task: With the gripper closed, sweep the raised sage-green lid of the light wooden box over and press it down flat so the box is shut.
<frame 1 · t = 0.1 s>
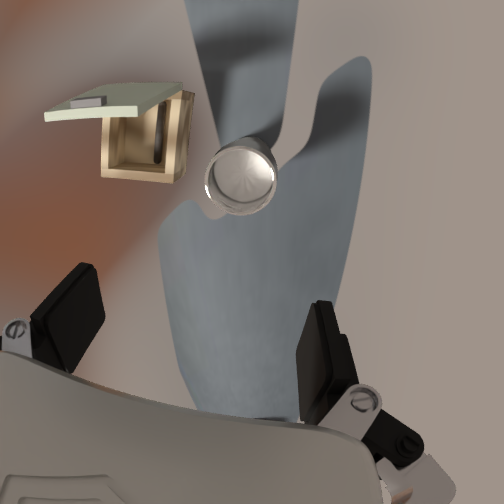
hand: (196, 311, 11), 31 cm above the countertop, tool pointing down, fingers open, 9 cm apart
beer glass: (250, 157, 38), on the countertop
box lid: (116, 93, 24), point 12 cm above the countertop, hinge at 75.0°
light wooden box: (154, 131, 37), on the countertop
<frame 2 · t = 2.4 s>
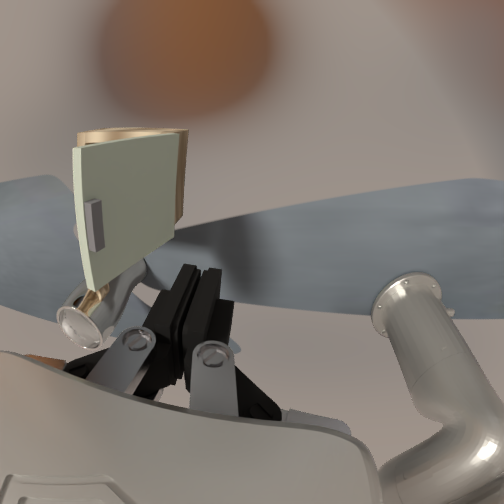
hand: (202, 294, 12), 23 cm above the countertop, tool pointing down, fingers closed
beer glass: (129, 264, 40), on the countertop
box lid: (136, 203, 22), point 12 cm above the countertop, hinge at 75.0°
light wooden box: (141, 170, 33), on the countertop
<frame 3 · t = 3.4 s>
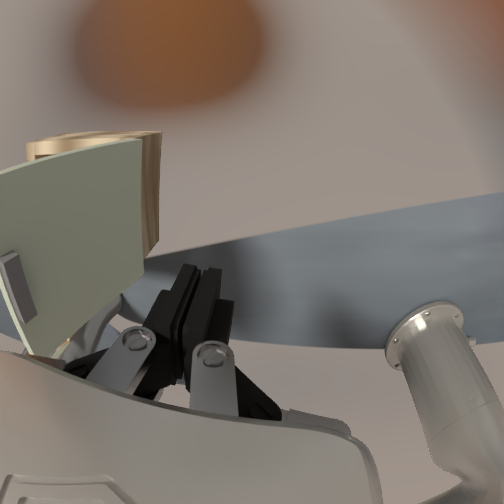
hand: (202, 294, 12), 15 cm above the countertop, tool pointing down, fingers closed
beer glass: (103, 294, 33), on the countertop
box lid: (81, 242, 15), point 12 cm above the countertop, hinge at 75.0°
light wooden box: (107, 184, 26), on the countertop
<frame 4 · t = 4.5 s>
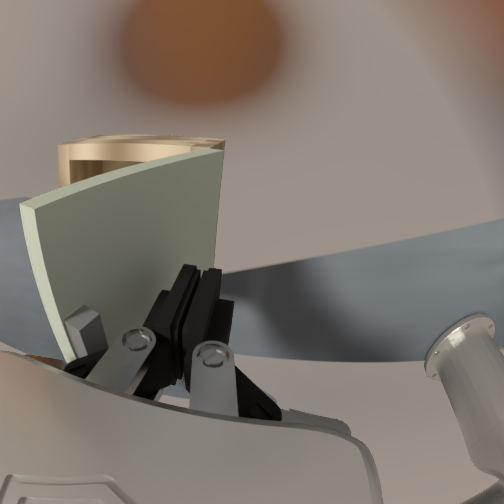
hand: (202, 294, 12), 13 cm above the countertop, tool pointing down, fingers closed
box lid: (161, 279, 13), point 12 cm above the countertop, hinge at 74.9°, touching gripper
light wooden box: (153, 196, 24), on the countertop
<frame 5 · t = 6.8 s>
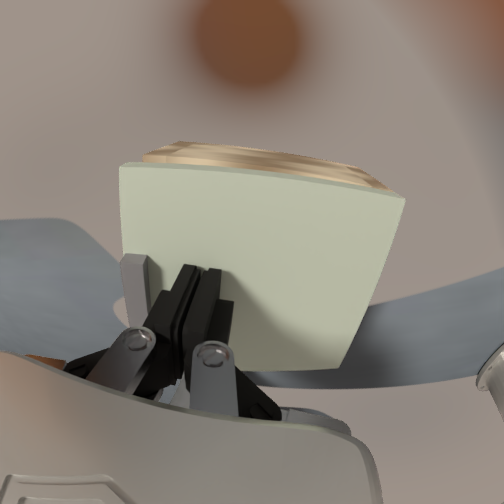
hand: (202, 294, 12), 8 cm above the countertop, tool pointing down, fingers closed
beer glass: (214, 358, 27), on the countertop
box lid: (256, 295, 13), point 8 cm above the countertop, hinge at 7.8°
light wooden box: (258, 228, 20), on the countertop
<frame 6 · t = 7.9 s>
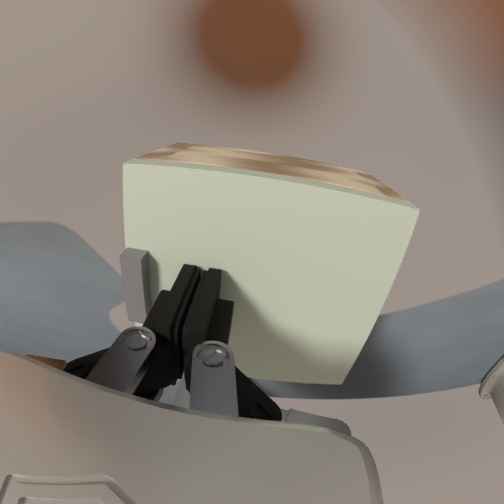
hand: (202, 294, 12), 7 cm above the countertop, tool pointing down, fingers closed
beer glass: (213, 367, 26), on the countertop
box lid: (255, 301, 13), point 7 cm above the countertop, hinge at -0.1°, touching gripper
light wooden box: (261, 236, 19), on the countertop
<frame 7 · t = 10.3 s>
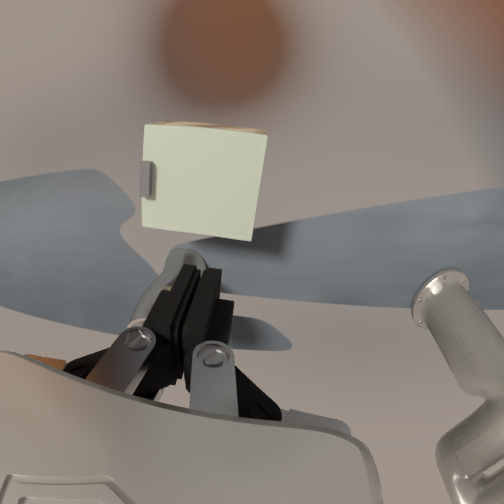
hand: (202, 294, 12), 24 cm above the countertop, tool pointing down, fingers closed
beer glass: (186, 266, 40), on the countertop
box lid: (198, 182, 27), point 7 cm above the countertop, hinge at -0.1°
light wooden box: (210, 168, 33), on the countertop
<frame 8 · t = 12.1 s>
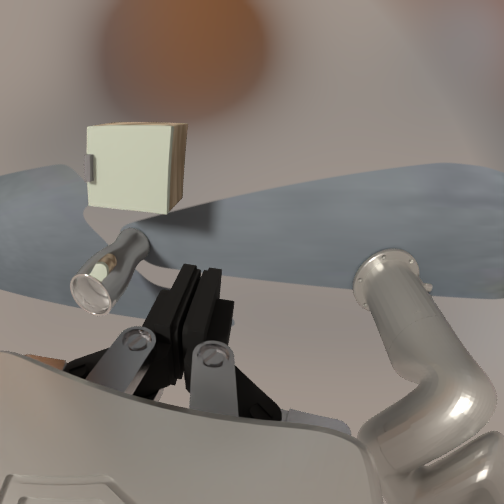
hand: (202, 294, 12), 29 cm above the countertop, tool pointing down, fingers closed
beer glass: (134, 243, 45), on the countertop
box lid: (124, 168, 32), point 7 cm above the countertop, hinge at -0.1°
light wooden box: (146, 158, 38), on the countertop
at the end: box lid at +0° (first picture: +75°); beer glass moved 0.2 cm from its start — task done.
